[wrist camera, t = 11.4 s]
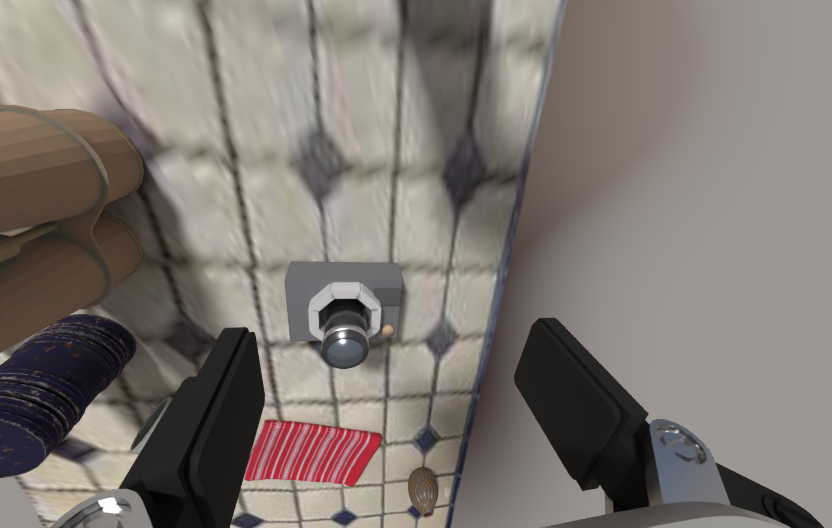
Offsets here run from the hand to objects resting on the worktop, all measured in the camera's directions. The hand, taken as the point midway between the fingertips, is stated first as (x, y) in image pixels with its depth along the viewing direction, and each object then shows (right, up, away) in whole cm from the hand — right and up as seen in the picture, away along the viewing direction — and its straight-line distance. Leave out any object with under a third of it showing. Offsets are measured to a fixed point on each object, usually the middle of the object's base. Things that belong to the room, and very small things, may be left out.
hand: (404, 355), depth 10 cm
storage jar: (-44, -8, +32) cm, 55 cm away
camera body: (-10, -1, +36) cm, 37 cm away
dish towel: (-21, -35, +52) cm, 66 cm away
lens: (-9, -3, +31) cm, 33 cm away
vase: (+1, -47, +63) cm, 79 cm away
